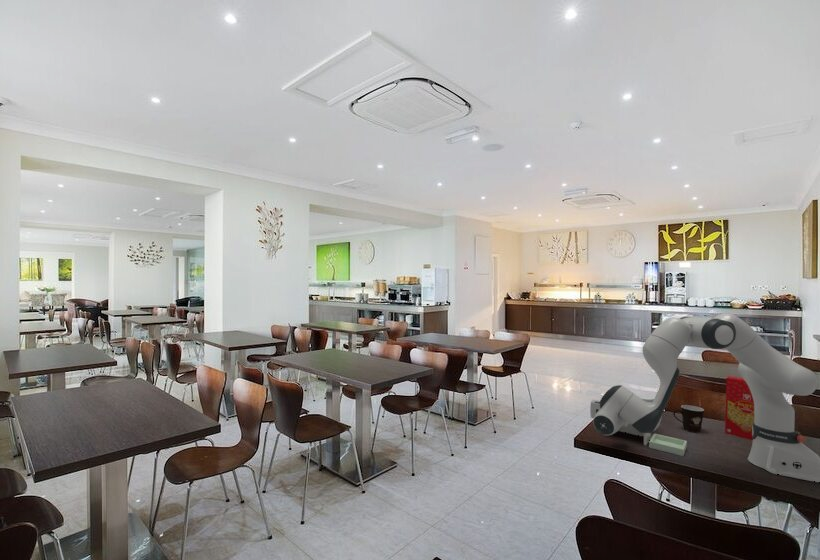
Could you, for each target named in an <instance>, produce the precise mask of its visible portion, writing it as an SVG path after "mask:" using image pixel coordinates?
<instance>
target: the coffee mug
mask: <svg viewBox="0 0 820 560" xmlns="http://www.w3.org/2000/svg"><path fill="white" fill-rule="evenodd" d="M680 409H681V410H680ZM680 409H675V410H674V411H673V417H674V418H675V419H676V420H677V421H679V422H681V423H682V428H683V430H684V429H685V431H686V430H687V431H686V432H689V433H697V434H698V433H701V431H702V424H703V418H704V412H705V409H704V408H702V407H699V406H696V405H691V404H690V405H688V404H685V405H684V404H682V405H681V406H680ZM676 412H680V413H681V417H682V420H680V419H679V418H678V417H677V416H676Z"/></svg>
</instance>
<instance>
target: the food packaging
mask: <svg viewBox="0 0 820 560" xmlns="http://www.w3.org/2000/svg"><path fill="white" fill-rule="evenodd" d="M725 382H726V384H725V417H724V418H725V419H724V434H725V433H726V434H727V435H729V434H731V435H730V436H733V435H735V436H734V437H738V438H743V439H745V440H750V441H753V436H752V426H753V423H754V400H753V397H752V394H751V391H750V389H749V386H748V385H747V383H746V381H745V380H744V379H743V378H742V377H738V376H737V377H736V376H731V375H729V376H727V377H726V381H725Z"/></svg>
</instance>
